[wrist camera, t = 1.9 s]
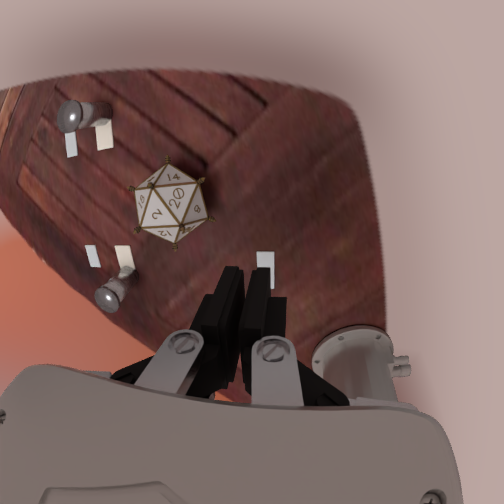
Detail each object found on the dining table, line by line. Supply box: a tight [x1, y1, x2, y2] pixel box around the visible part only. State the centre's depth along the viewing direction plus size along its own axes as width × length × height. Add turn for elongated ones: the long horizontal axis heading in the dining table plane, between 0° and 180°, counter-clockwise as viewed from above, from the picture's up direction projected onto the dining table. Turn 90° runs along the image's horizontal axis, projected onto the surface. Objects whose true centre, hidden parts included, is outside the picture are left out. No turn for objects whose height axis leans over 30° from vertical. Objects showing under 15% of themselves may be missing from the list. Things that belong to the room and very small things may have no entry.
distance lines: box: [65, 120, 274, 289], centre depth 31 cm, size 27×22×1 cm
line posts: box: [57, 100, 139, 313], centre depth 29 cm, size 4×26×7 cm, turn 2°
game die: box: [127, 154, 216, 252], centre depth 27 cm, size 9×8×10 cm
